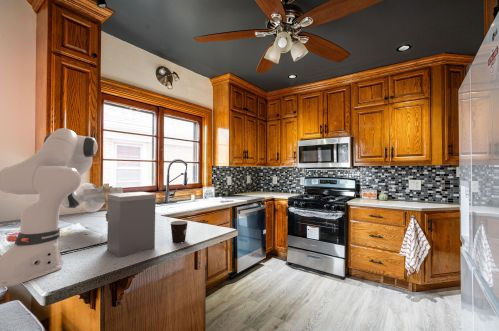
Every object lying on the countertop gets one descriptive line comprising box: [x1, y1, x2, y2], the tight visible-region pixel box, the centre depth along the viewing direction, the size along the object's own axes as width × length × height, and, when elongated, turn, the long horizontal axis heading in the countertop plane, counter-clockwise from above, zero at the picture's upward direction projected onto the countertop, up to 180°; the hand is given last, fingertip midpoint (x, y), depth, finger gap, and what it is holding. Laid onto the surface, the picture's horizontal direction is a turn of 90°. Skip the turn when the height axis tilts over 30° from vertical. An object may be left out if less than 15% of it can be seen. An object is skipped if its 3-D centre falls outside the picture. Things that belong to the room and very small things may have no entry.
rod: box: [102, 183, 111, 222], centre depth 134 cm, size 21×4×4 cm
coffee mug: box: [170, 220, 188, 244], centre depth 125 cm, size 12×9×10 cm
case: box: [106, 191, 157, 258], centre depth 114 cm, size 14×16×26 cm
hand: (107, 186), depth 136 cm, fingers closed on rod, 3 cm apart
